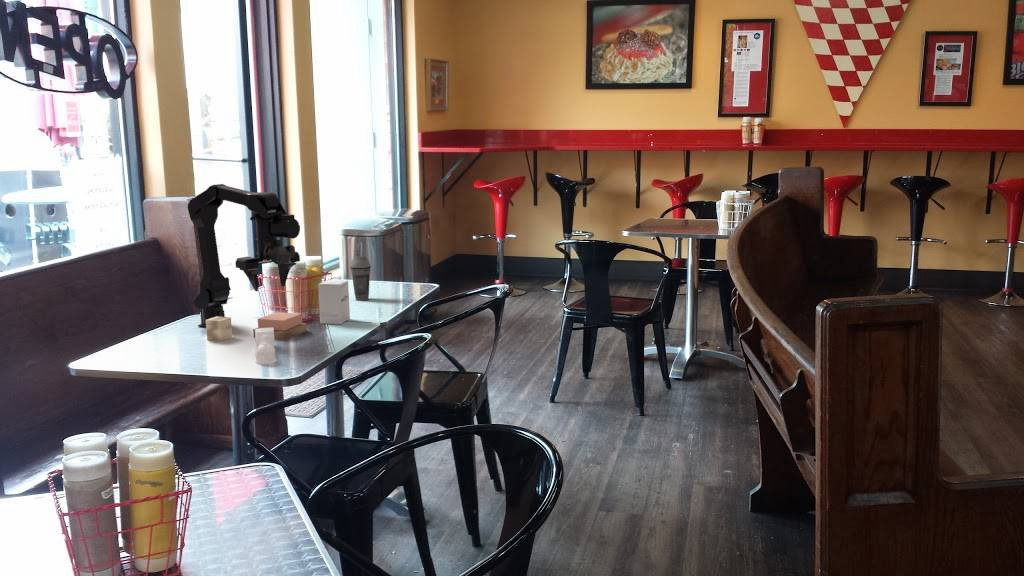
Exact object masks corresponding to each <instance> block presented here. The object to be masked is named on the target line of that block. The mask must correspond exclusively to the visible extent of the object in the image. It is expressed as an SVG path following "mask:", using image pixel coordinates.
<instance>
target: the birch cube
mask: <svg viewBox="0 0 1024 576" xmlns="http://www.w3.org/2000/svg"><path fill="white" fill-rule="evenodd" d="M205 328H206V329H205V330H206V340H207V341H212V340H213V342H223V340H224V341H226V340H228V339H231V337H232V338H233V326H232V317H229V316H225V317H219V316H216V317H213V318H210V319H207V320H206V327H205Z"/></svg>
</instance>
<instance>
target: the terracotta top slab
mask: <svg viewBox="0 0 1024 576" xmlns="http://www.w3.org/2000/svg"><path fill="white" fill-rule="evenodd" d="M302 323H303V317H302V313H297V312H295V313H293V312H282V311H281V312H280V311H279V312H278V311H276V312H275V311H274V312H272V313H270V314H268V315H264V316H262V317H259V318H257V328H271V327H273V328H274V330H282V331H285V330H287V329H290V328H292V327H295V326H297V325H300V324H302Z"/></svg>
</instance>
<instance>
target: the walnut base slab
mask: <svg viewBox="0 0 1024 576" xmlns="http://www.w3.org/2000/svg"><path fill="white" fill-rule="evenodd" d="M307 327H308V326H307V323H304V322H302V324H300V325H297V326H295V327H292V328H290V329H287V330H285V331H282V330H274V340H283V341H284V340H285V341H286V340H288V339H291V338H293V337H297V336H298V335H301V334H303V333H306V332H308V329H307ZM257 328H258V327H255V328H254V329H252V331H253V338H255V329H257Z"/></svg>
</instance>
